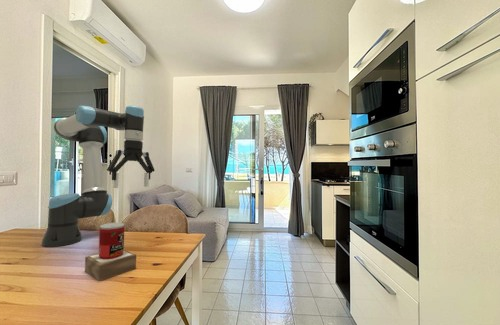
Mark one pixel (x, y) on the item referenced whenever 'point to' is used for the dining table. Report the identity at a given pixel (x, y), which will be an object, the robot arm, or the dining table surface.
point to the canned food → (111, 240)
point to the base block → (109, 265)
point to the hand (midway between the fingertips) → (131, 187)
